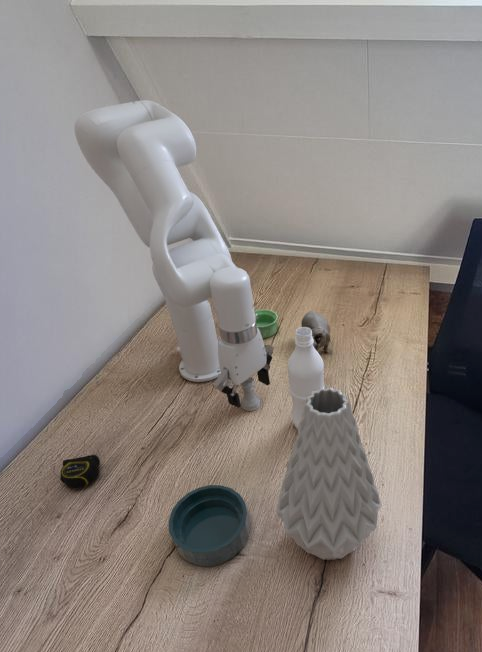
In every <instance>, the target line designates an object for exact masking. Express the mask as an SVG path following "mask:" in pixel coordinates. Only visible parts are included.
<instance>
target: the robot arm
mask: <svg viewBox="0 0 482 652" xmlns="http://www.w3.org/2000/svg"><path fill="white" fill-rule="evenodd" d="M74 135H75V138H76V141H77V144H78V147H79V149H80V151H81V153H82V155H83V157H84V158H85V160H86V162H87V163H88V165H89V166H90V168H91V169H92V170H93V171H94V173H95V174H96V175H97V176H98V177H99V179H101V180H102V182H103V183H104V184H105V185H106V186H107V187H108V188H109V189H110V191H111V192H112V193H113V195H114V196H115V198H116V199H117V201H118V203H119V205H120V207H121V208H122V210H123V212H124V214H125V215H126V217H127V219H128V221H129V222H130V224H131V227H133V229H134V231H135V232H136V234H137V236H138V237H139V239H140V241H141V242H142V243H143V244H144V245H145V246H146V247H147V248H149V251H150V252H149V253H150V257H151V261H152V265H151V269H152V274H153V277H154V280H155V281H156V283H157V285H158V287H159V290H160V292H161V294H162V296H163V298H164V301H165V303H166V304H165V305H166V306H167V311H168V313H169V317H170V320H171V323H172V326H173V330H174V333H175V334H174V335H175V337H176V340H177V344H178V347H177V348H176V352H178V353H179V354H180V355H181V359H182V360H181V361H180V363H179V366H178V371H179V373H180V375H181V377H182V378H183V379H186V380H187V381H190V382H194V383H204V382H205V383H206V382H210V381H213V380H215V381H214V382H213V387H214V388H215V389H216V390H217V391H219V392H221V393H223V394H225V395H226V398H227V402H228V404H229V405H230V406H234V407H235V408H237V409H240V408H241V407H242V403H241V400H240V394H239V393H238V392H237V390H238V389H239V385H240V384H241V383H242V382H244V381H245V380H247V379H248V378H251V377H253V376H254V375H255V374H257V380H258V382H260V383H262V384H264V386H265V385H266V386H269V385H271V381H270V380H271V379H270V374H269V370H270V369H271V365H270V364H271V362H272V360H273V354H274V349H275V347H274V346H273V345H271V344H265V343H264V340H263V339H264V338H262V336H261V333H260V331H259V329H258V328H257V325H256V320H257V319H258V315H257V314H255V306H254V305H255V304H254V300H253V299H254V298H253V292H252V285H251V279H250V276H249V273H247V271H246V270H244V269H243V268H240V267H238V266H236V264H235V263H234V262H233V259H232V255H231V253H230V250H229V247H228V246H227V244H226V242H225V240H224V238H223V236H222V235H221V233H220V231H219V229H218V227H217V225H216V224H215V222H214V220H213V218H212V216H211V214H210V212H209V210H208V209H207V207H206V205H205V204H204V202H203V201H202V200H201V198H199V196H198V195H197V194H195V193H193V192H191V191H189V188H188V187H187V185H186V183H185V181H184V179H183V177H182V175H181V173H180V172H179V170H178V168H181V167H184V166H187V165H191V164H193V162H194V161H195V159H196V157H197V144H196V140H195V138H194V136H193V133H192V132H191V130H190V128H189V127H188V125H187V124H186V123H185V122H184V121H183V120H182V119H181V118H180V117H179V116H178V115H176V114H175V113H174V112H172V111H171V110H169V109H167V108H165V107H164V106H162V105H161V104H159V103H158V102H156V101H153V100H149V99H140V100H134V101H129V102H125V103H124V102H123V103H118V104H113V105H107V106H103V107H98V108H94V109H91V110H88V111H86V112H84V113H82V114H80V116H78V117H77V119H76V120H75V123H74ZM187 239H191V240H192V241H189V242H187V243H183V244H181V245H178V246H176V247H173V248H170V249H168V248H169V246H170V245H173V244H176V243H179V242H181V241H185V240H187ZM211 299H212V302H213V306H214V311H215V317H216V321H217V325H218V326H217V327H218V331H219V335H220V338H219V339H218V334H217V329H216V324H215V320H214V315H213V311H212V306H211V304H210V301H209V300H211ZM231 384H232V386H231Z"/></svg>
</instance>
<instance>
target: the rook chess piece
mask: <svg viewBox="0 0 482 652" xmlns="http://www.w3.org/2000/svg"><path fill="white" fill-rule="evenodd" d="M255 383H256V382H255V379H253V376H251V377H250V378H248V379H247V380H245V381H244V382H242V383H241V384H239V385H240V386H241V389H242V391H243V396H242V398H241V400H240V404H241V408H242V409H244V410H245V411H248V412H253V411H256V410H258V408H260V406H261V399H260V397H259V396H258V394H257V393H256V391H255V385H254V384H255Z"/></svg>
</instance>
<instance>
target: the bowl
mask: <svg viewBox="0 0 482 652" xmlns="http://www.w3.org/2000/svg"><path fill="white" fill-rule="evenodd" d="M249 517H250V516H249V513H248V509H247V503H246V502H245V500H244V498H243V497H242V496H241V494H240V493H239V492H237V491H236V490H234V489H233V488H231V487H229V486H225V485H221V484H209V485H204V486H200V487H197V488H194V489H193V490H191V491H189V492H187V493H186V494H185V495H184V496H182V497H181V498H180V499H179V500H178V501H177V502H176V503H175V505H174V506H173V508H172V509H171V513H170V515H169V518H168V534H169V535H170V537H171V539H172V542H173V543H174V546H175V548H176V550H177V552H178V555H180V556H181V557H182V558H183V560H185V561H186V562H187V563H191V564H192V565H195V566H200V567H213V566H216V565H221V564H223V563H225V562H228V561H229V560H231V559H232V558H234V557H235V556H237V555H238V554H239V552H240V551H241V550H242V549H243V548H244V546H245V545H246V543H247V540H248V539H249V537H250V530H251V523H250V518H249Z"/></svg>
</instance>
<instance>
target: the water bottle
mask: <svg viewBox="0 0 482 652" xmlns="http://www.w3.org/2000/svg"><path fill="white" fill-rule="evenodd" d="M313 343H314V340H313V337H312V330H311V329H310V328H308V327H302V326H301V327H298V328H297V329H296V330H295V339H294V345H295V348H294V350H293V351H292V353H291V355H290V357H289V359H288V362H287V372H288V373H287V374H288V382H289V386H288V389H289V395H290V398H291V400H292V410H291V420H292V423H293V425H294V427H295V428H296V430H298V426H299V423H300V422H301V419H302V413H303V410H304V407H305V405H306V398H307V397H309V396H311V392H312V391H318V390H319V389H320V388H323V389H325V381H324V371H325V364H324V361H323V358H322V356H321V355H320V353H319V352H318V351H316V349H315V348H314V346H313Z"/></svg>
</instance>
